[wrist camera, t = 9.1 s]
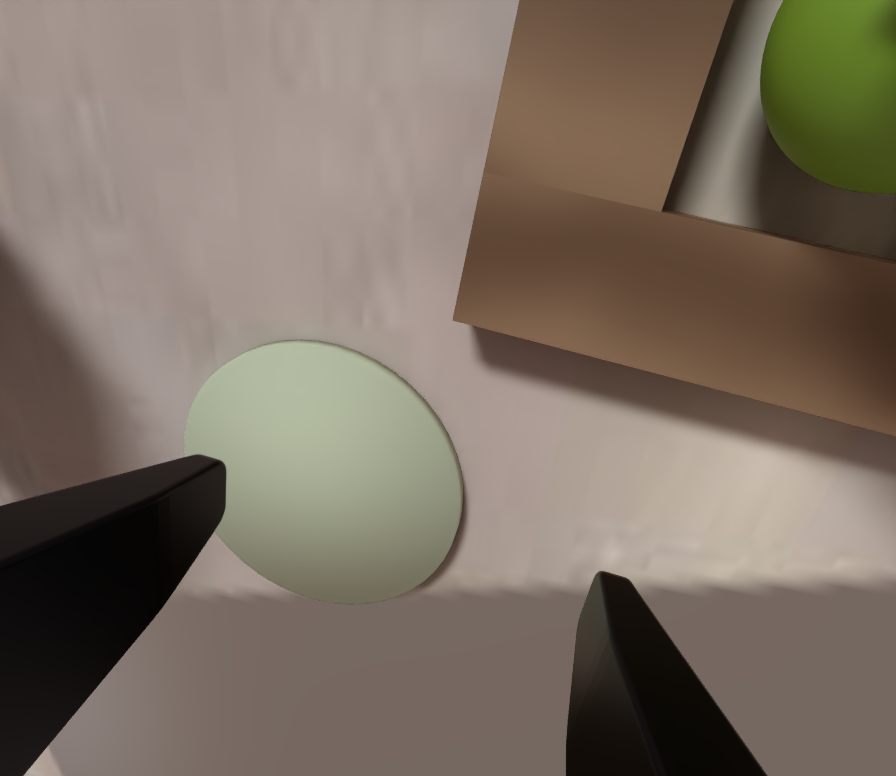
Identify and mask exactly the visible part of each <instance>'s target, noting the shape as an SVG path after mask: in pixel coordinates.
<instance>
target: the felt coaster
mask: <svg viewBox="0 0 896 776" xmlns="http://www.w3.org/2000/svg"><path fill="white" fill-rule="evenodd" d="M184 454H185V457H187V456H191V455H195V454H201V455H205V456H209V457H212V458H216V459H219V460H221V461H223V462H224V464H225V466H226V471H227V475H226V508H225V512H224V515H223V518H222V520H221V522H220V523H219V525H218V527H217V528H216V530H215V532H216V534H217V535H218V536H219V538H220V539H221V540H222V541H223V542H224V543H225V544H226V546H227V547H228V548H229V549H230V550H231V551H232V552H233V553H234V554H235V555H236V556H237V557H239V558H240V559H241V560H242V561H243V562H244V563H245V564H247V565H248V566H249V567H251V568H252V569H253V570H254V571H256V572H257V573H259V574H260V575H262V576H263V577H265V578H266V579H268V580H270V581H271V582H273V583H275V584H277V585H279V586H281V587H283V588H285V589H287V590H289V591H292V592H294V593H297V594H299V595H302V596H305V597H309V598H312V599H316V600H319V601H325V602H331V603H338V604H368V603H374V602H380V601H384V600H387V599H391V598H394V597H397V596H399V595H401V594H404V593H406V592H408V591H410V590H412V589H413V588H415V587H416V586H418V585H419V584H421V583H422V582H424V581H425V580H426V579H427V578H428V577H429V576H430V575H431V574H432V573H433V572H434V571H435V570H436V569H437V568H438V566H439V565H440V564H441V563H442V561H443V560H444V559H445V557H446V555H447V553H448V551H449V549H450V547H451V546H452V543H453V540H454V537H455V534H456V531H457V529H458V526H459V523H460V519H461V513H462V507H463V482H462V474H461V468H460V465H459V461H458V457H457V454H456V451H455V448H454V446H453V444H452V441H451V439H450V437H449V434H448V433H447V431H446V429H445V427H444V426H443V424H442V422H441V421H440V419H439V417H438V416H437V415H436V413H435V412H434V411H433V409H432V408H431V407H430V405H429V404H428V403H427V401H426V400H425V399H424V398H423V397H422V396H421V395H420V394H419V393H418V392H417V391H416V390H415V389H414V388H413V387H412V386H411V385H410V384H409V383H408V382H406V381H405V380H404V379H403V378H402V377H400V376H399V375H398V374H397V373H395V372H394V371H392V370H391V369H389V368H388V367H386V366H385V365H383V364H381V363H380V362H378V361H377V360H374V359H372V358H370V357H368V356H366V355H364V354H362V353H360V352H358V351H355V350H352V349H349V348H346V347H343V346H340V345H336V344H331V343H327V342H322V341H312V340H287V341H279V342H274V343H269V344H265V345H262V346H259V347H257V348H254V349H252V350H249V351H247V352H245V353H243V354H242V355H240V356H238V357H236V358H235V359H233V360H231V361H229V362H228V363H226V364H224V365H223V366H222V367H221V368H220V369H218V370H217V371H216V372H215V373H214V374H212V376H211V377H210V378H209V379H208V380H207V381H206V383H205V384H204V385H203V386H202V388H201V389H200V391H199V393H198V394H197V396H196V398H195V399H194V402H193V404H192V407H191V409H190V412H189V414H188V419H187V423H186V428H185V438H184Z"/></svg>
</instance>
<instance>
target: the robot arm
mask: <svg viewBox="0 0 896 776" xmlns="http://www.w3.org/2000/svg"><path fill="white" fill-rule="evenodd" d="M226 475H227V471H226V466H225V464H224V462H223V461H221V460H219V459H216V458H212V457H209V456H205V455H201V454H195V455H191V456H187V457H183V458H180V459H176V460H172V461H168V462H165V463H161V464H157V465H153V466H149V467H146V468H142V469H138V470H134V471H131V472H127V473H123V474H119V475H115V476H112V477H108V478H104V479H100V480H97V481H93V482H89V483H85V484H81V485H78V486H74V487H70V488H66V489H63V490H59V491H55V492H51V493H48V494H44V495H40V496H36V497H32V498H29V499H25V500H21V501H17V502H14V503H10V504H6V505H2V506H0V776H23V775H24V774H25V773H26V772H27V771H28V769H29V768H30V767H31V766H32V765H33V763H34V762H35V761H36V760H37V759H38V757H39V756H40V755H41V754H42V753H43V751H44V750H45V749H46V748H47V746H48V745H49V744H50V743H51V742H52V740H53V739H54V738H55V737H56V736H57V734H58V733H59V732H60V731H61V730H62V728H63V727H64V726H65V725H66V724H67V722H68V721H69V720H70V719H71V718H72V716H73V715H74V714H75V713H76V711H77V710H78V709H79V708H80V707H81V706H82V704H83V703H84V702H85V701H86V700H87V698H88V697H89V696H90V695H91V694H92V692H93V691H94V690H95V689H96V688H97V686H98V685H99V684H100V683H101V682H102V680H103V679H104V678H105V677H106V676H107V674H108V673H109V672H110V671H111V670H112V668H113V667H114V666H115V665H116V664H117V662H118V661H119V660H120V659H121V657H122V656H123V655H124V654H125V653H126V651H127V650H128V649H129V648H130V647H131V645H132V644H133V643H134V642H135V640H136V639H137V638H138V637H139V636H140V634H141V633H142V632H143V631H144V630H145V629H146V627H147V626H148V625H149V624H150V622H151V621H152V620H153V619H154V618H155V616H156V615H157V614H158V613H159V611H160V610H161V609H162V607H163V606H164V605H165V603H166V602H167V600H168V599H169V598H170V596H171V595H172V593H173V592H174V590H175V589H176V587H177V586H178V584H179V583H180V581H181V580H182V579H183V577H184V576H185V574H186V573H187V571H188V570H189V568H190V567H191V565H192V564H193V562H194V561H195V559H196V558H197V556H198V555H199V553H200V552H201V550H202V549H203V547H204V546H205V544H206V543H207V541H208V540H209V538H210V537H211V535H212V534H213V532H214V531H215V530H216V528H217V527H218V525H219V523H220V522H221V520H222V518H223V515H224V512H225V508H226ZM566 739H567V740H566V776H767V774H766V773H765V772H764V770H763V769H762V767H761V766H760V764H759V763H758V762H757V760H756V759H755V757H754V756H753V754H752V753H751V752H750V750H749V749H748V747H747V746H746V745H745V743H744V742H743V740H742V739H741V737H740V736H739V735H738V733H737V732H736V730H735V729H734V727H733V726H732V725H731V723H730V722H729V720H728V719H727V717H726V716H725V715H724V713H723V712H722V710H721V709H720V708H719V706H718V705H717V703H716V702H715V700H714V699H713V698H712V696H711V695H710V693H709V692H708V690H707V689H706V688H705V686H704V685H703V683H702V682H701V681H700V679H699V678H698V676H697V675H696V673H695V672H694V670H693V669H692V668H691V666H690V665H689V663H688V662H687V661H686V659H685V658H684V656H683V655H682V654H681V652H680V651H679V649H678V648H677V646H676V645H675V643H674V642H673V641H672V639H671V638H670V636H669V635H668V633H667V632H666V631H665V629H664V628H663V626H662V625H661V624H660V622H659V621H658V619H657V618H656V616H655V615H654V614H653V612H652V611H651V609H650V608H649V606H648V605H647V604H646V602H645V601H644V599H643V598H642V596H641V595H640V594H639V592H638V591H637V589H636V588H635V587H634V585H633V584H632V582H631V581H630V580H629V579H627V578H625V577H622V576H619V575H615V574H612V573H609V572H605V571H599V572H598V573H597V574H596V575H595V577H594V579H593V582H592V584H591V587H590V590H589V593H588V595H587V598H586V601H585V603H584V606H583V609H582V611H581V614H580V618H579V622H578V627H577V634H576V644H575V654H574V664H573V674H572V684H571V695H570V705H569V714H568V725H567V738H566Z"/></svg>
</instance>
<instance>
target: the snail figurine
mask: <svg viewBox="0 0 896 776" xmlns="http://www.w3.org/2000/svg"><path fill="white" fill-rule="evenodd" d="M760 92H761V102H762V107H763V112H764V116H765V119H766V122H767V125H768V127H769V130H770V132H771V134H772V136H773V138H774V139H775V141H776V143H777V144H778V146H779V147H780V149H781V150H782V151H783V152H784V154H785V155H786V156H787V157H788V158H789V159H790V160H791V161H792V162H793V163H794V164H795V165H796V166H798V167H799V168H800V169H802V170H803V171H804V172H806V173H807V174H809V175H811V176H812V177H814V178H816V179H818V180H820V181H822V182H825V183H827V184H829V185H832V186H835V187H839V188H842V189H846V190H851V191H856V192H863V193H876V194H892V193H896V0H783V2H782V4H781V6H780V8H779V10H778V12H777V14H776V17H775V19H774V21H773V24H772V26H771V29H770V32H769V35H768V38H767V41H766V45H765V49H764V53H763V58H762V65H761V75H760Z"/></svg>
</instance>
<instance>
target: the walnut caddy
mask: <svg viewBox="0 0 896 776" xmlns="http://www.w3.org/2000/svg"><path fill="white" fill-rule="evenodd" d="M732 3H733V0H520V1H519V6H518V10H517V15H516V20H515V25H514V29H513V34H512V39H511V44H510V48H509V53H508V58H507V63H506V68H505V72H504V77H503V82H502V87H501V91H500V96H499V101H498V106H497V110H496V115H495V120H494V125H493V130H492V134H491V139H490V144H489V149H488V153H487V158H486V163H485V168H484V172H483V177H482V182H481V187H480V192H479V196H478V201H477V206H476V211H475V215H474V220H473V225H472V230H471V235H470V239H469V244H468V249H467V254H466V258H465V263H464V268H463V273H462V277H461V282H460V287H459V292H458V297H457V301H456V306H455V311H454V316H453V321H457V322H461V323H465V324H469V325H472V326H476V327H480V328H484V329H488V330H492V331H495V332H499V333H503V334H507V335H511V336H514V337H518V338H522V339H526V340H530V341H534V342H537V343H541V344H545V345H549V346H553V347H557V348H560V349H564V350H568V351H572V352H576V353H579V354H583V355H587V356H591V357H595V358H599V359H602V360H606V361H610V362H614V363H618V364H621V365H625V366H629V367H633V368H637V369H641V370H644V371H648V372H652V373H656V374H660V375H663V376H667V377H671V378H675V379H679V380H683V381H686V382H690V383H694V384H698V385H702V386H705V387H709V388H713V389H717V390H721V391H725V392H728V393H732V394H736V395H740V396H744V397H747V398H751V399H755V400H759V401H763V402H767V403H770V404H774V405H778V406H782V407H786V408H789V409H793V410H797V411H801V412H805V413H809V414H812V415H816V416H820V417H824V418H828V419H831V420H835V421H839V422H843V423H847V424H851V425H854V426H858V427H862V428H866V429H870V430H873V431H877V432H881V433H885V434H889V435H893V436H896V261H894V260H889V259H885V258H880V257H876V256H872V255H867V254H863V253H858V252H854V251H849V250H845V249H840V248H836V247H831V246H827V245H822V244H818V243H813V242H809V241H804V240H800V239H795V238H791V237H787V236H782V235H778V234H773V233H769V232H764V231H760V230H755V229H751V228H746V227H742V226H737V225H733V224H728V223H724V222H719V221H715V220H710V219H706V218H702V217H697V216H693V215H688V214H684V213H679V212H675V211H670V210H666V209H662V208H663V205H664V202H665V199H666V196H667V193H668V190H669V188H670V185H671V182H672V179H673V176H674V173H675V170H676V167H677V164H678V161H679V158H680V155H681V152H682V149H683V147H684V144H685V141H686V138H687V135H688V132H689V129H690V126H691V123H692V120H693V117H694V114H695V111H696V108H697V106H698V103H699V100H700V97H701V94H702V91H703V88H704V85H705V82H706V79H707V76H708V73H709V70H710V67H711V64H712V62H713V59H714V56H715V53H716V50H717V47H718V44H719V41H720V38H721V35H722V32H723V29H724V26H725V23H726V21H727V18H728V15H729V12H730V9H731V6H732Z"/></svg>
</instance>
